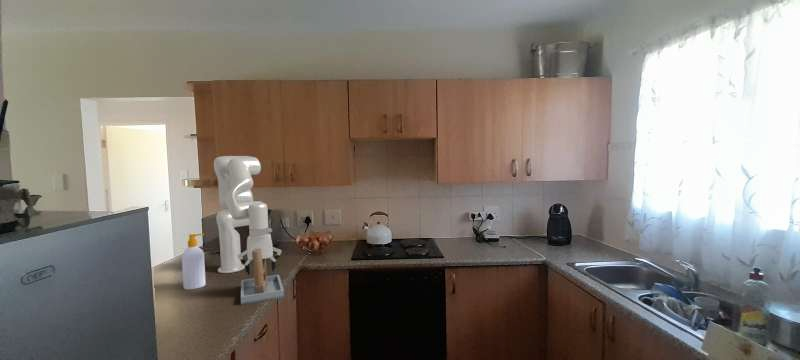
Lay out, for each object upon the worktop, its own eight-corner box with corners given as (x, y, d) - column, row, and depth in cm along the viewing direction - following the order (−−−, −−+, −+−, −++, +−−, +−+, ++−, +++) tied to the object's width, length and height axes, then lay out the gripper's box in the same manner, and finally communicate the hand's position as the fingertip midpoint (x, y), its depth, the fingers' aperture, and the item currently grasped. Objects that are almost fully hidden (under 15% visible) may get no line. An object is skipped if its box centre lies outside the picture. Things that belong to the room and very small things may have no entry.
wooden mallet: (267, 285, 153) (264, 245, 152) (264, 293, 143) (260, 251, 142) (258, 286, 153) (255, 245, 152) (254, 295, 142) (251, 252, 141)
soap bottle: (203, 288, 153) (200, 235, 152) (180, 290, 152) (177, 237, 150) (210, 282, 162) (207, 231, 161) (188, 284, 160) (185, 233, 159)
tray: (241, 286, 154) (241, 280, 154) (279, 281, 161) (279, 274, 161) (241, 304, 134) (240, 297, 134) (284, 297, 141) (283, 290, 141)
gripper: (279, 228, 153) (281, 266, 154) (236, 233, 146) (238, 272, 147) (281, 231, 146) (283, 271, 147) (236, 236, 139) (238, 278, 140)
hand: (260, 272), depth 147 cm, fingers open, 9 cm apart
